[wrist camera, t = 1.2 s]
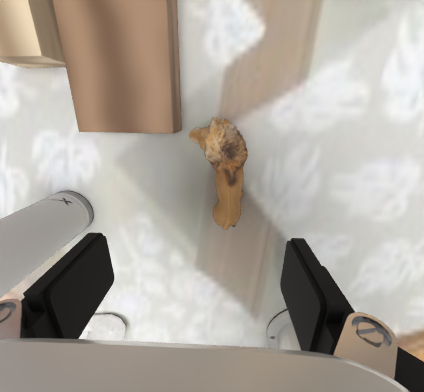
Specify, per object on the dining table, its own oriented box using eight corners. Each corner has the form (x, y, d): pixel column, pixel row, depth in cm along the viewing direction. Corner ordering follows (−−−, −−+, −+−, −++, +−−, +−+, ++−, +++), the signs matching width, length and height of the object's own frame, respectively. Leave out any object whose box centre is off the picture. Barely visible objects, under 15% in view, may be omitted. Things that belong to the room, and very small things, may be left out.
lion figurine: (195, 121, 26) (180, 124, 18) (238, 112, 25) (245, 111, 17) (216, 227, 31) (214, 268, 23) (253, 221, 30) (265, 262, 22)
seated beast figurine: (73, 315, 39) (12, 396, 28) (108, 297, 37) (58, 377, 26) (107, 347, 42) (64, 432, 30) (142, 332, 40) (109, 418, 28)
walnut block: (175, -40, 21) (162, -84, 16) (182, 130, 27) (173, 133, 22) (77, -38, 22) (36, -80, 17) (104, 128, 27) (79, 131, 23)
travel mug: (74, 181, 30) (-182, 295, 11) (102, 220, 32) (-76, 374, 13) (40, 198, 31) (-243, 326, 12) (69, 235, 33) (-137, 394, 14)
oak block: (62, 1, 23) (20, -29, 18) (76, 66, 25) (41, 55, 20) (9, 3, 23) (-47, -25, 18) (26, 68, 25) (-19, 57, 20)
